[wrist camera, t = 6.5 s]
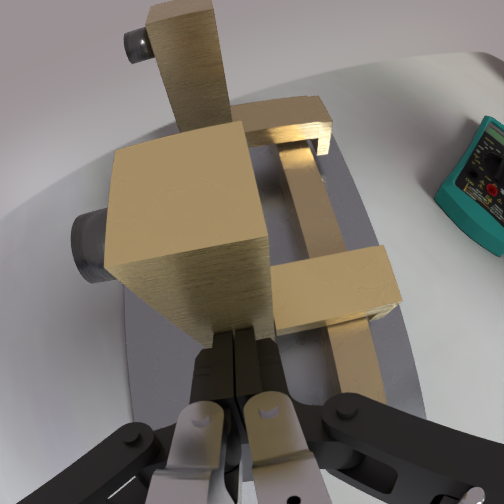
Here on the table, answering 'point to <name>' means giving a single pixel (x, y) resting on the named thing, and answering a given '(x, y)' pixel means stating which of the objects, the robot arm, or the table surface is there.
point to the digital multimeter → (479, 188)
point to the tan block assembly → (258, 134)
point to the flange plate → (290, 345)
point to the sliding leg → (217, 245)
